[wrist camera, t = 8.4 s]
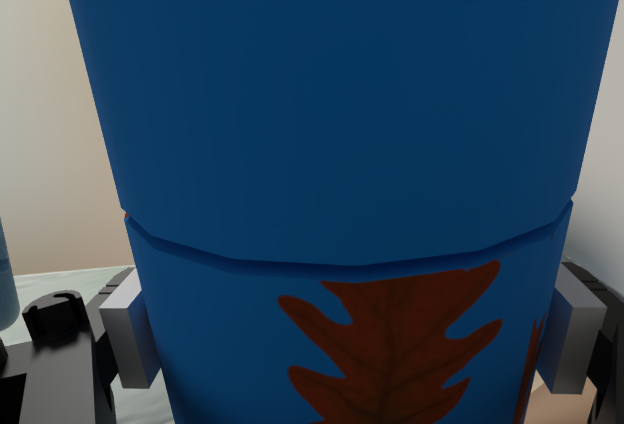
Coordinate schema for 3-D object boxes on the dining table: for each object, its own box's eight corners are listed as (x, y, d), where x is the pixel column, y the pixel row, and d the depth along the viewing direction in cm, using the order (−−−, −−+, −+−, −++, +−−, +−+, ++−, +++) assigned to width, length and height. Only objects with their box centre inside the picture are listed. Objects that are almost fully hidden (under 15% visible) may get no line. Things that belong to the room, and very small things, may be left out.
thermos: (246, 434, 22) (162, -103, 13) (434, 431, 22) (492, -123, 13) (187, 747, 12) (-391, -642, 3) (532, 749, 12) (1193, -816, 2)
